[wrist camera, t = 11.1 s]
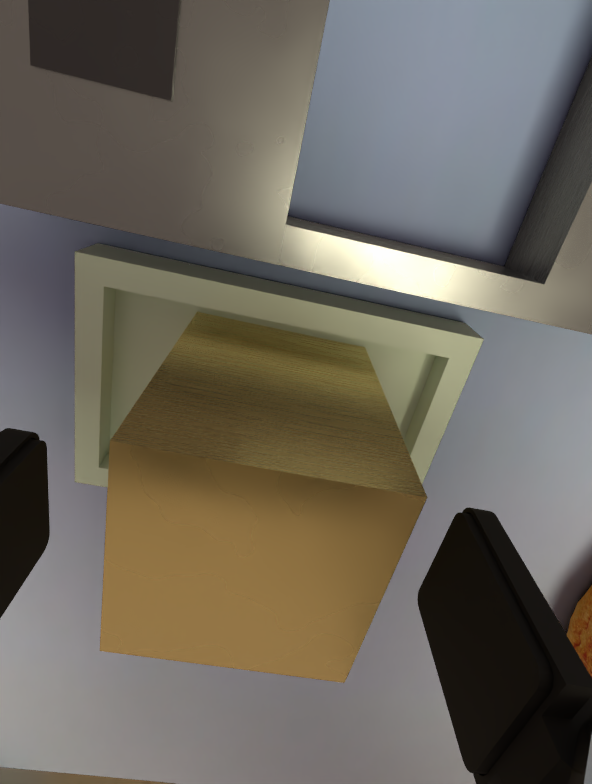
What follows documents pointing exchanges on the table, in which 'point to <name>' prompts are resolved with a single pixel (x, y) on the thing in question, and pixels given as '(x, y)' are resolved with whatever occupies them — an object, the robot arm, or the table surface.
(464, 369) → the tray
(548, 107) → the table surface
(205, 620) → the wooden block
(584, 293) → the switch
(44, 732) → the table surface
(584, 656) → the croissant
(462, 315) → the table surface
